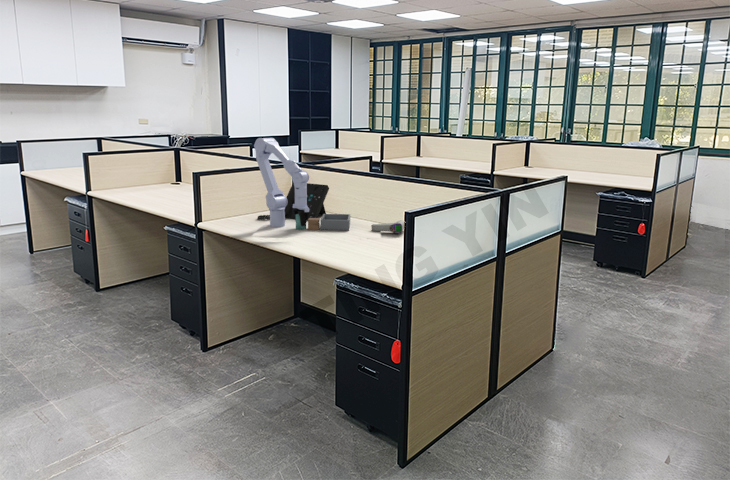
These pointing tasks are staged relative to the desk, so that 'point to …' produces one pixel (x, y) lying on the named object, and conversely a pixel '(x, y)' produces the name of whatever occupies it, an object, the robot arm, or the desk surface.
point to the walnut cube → (313, 224)
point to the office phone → (314, 201)
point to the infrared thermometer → (389, 227)
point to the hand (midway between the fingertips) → (300, 224)
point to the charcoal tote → (335, 222)
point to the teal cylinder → (299, 223)
